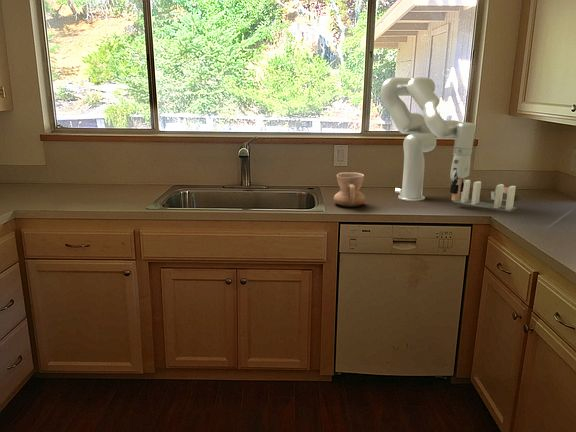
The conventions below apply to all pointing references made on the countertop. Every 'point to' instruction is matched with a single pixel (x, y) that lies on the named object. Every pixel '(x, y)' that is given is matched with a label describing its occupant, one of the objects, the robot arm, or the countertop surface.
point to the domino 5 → (510, 197)
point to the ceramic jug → (349, 189)
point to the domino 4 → (498, 195)
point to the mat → (484, 205)
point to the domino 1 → (457, 196)
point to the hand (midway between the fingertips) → (456, 191)
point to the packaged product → (502, 196)
